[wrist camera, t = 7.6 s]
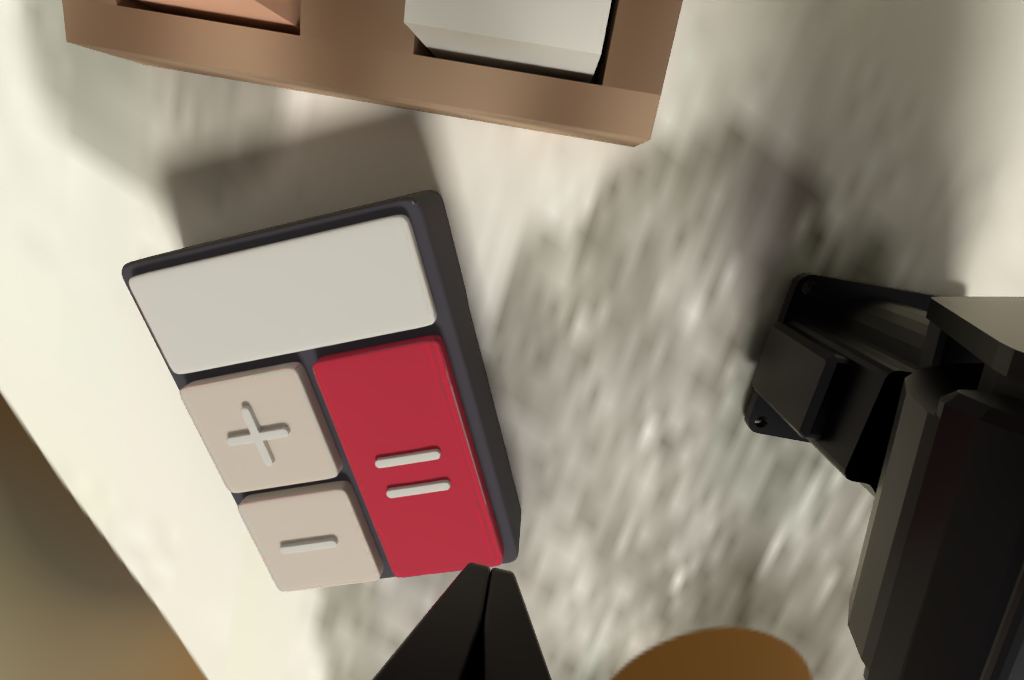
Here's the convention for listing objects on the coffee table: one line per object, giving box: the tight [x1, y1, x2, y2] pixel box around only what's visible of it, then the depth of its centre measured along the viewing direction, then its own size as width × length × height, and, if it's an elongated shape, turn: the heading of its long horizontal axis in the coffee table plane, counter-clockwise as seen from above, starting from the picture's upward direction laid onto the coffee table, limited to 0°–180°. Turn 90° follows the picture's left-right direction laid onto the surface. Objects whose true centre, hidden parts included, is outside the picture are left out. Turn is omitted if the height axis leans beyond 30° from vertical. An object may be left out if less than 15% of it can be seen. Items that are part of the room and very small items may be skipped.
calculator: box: [122, 190, 521, 591], centre depth 20 cm, size 11×4×15 cm
